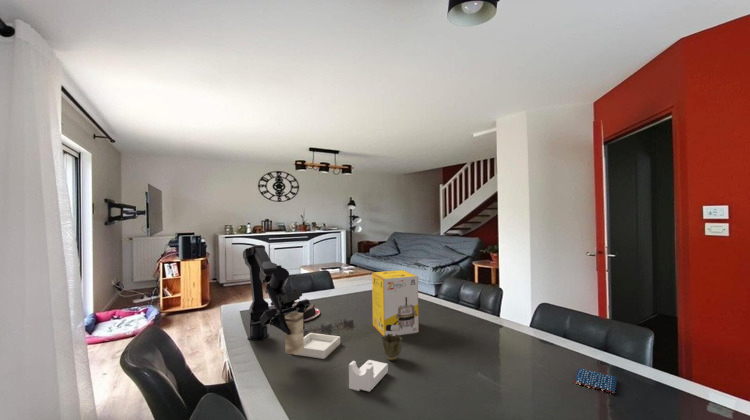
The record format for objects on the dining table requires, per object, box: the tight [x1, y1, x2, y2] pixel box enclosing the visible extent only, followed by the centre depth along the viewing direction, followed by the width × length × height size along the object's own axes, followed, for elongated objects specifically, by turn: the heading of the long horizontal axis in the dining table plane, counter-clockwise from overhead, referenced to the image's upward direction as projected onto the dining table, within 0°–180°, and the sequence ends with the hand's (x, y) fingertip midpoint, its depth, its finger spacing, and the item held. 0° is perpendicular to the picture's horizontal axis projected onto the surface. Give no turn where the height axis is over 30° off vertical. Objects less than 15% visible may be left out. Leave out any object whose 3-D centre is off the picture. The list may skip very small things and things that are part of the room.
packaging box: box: [371, 269, 420, 337], centre depth 146 cm, size 16×16×25 cm
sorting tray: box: [293, 332, 341, 360], centre depth 125 cm, size 14×14×3 cm
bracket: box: [348, 359, 389, 392], centre depth 101 cm, size 13×7×8 cm, turn 153°
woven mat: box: [573, 367, 618, 393], centre depth 98 cm, size 10×11×2 cm
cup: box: [381, 334, 403, 362], centre depth 116 cm, size 8×7×8 cm
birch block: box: [284, 312, 304, 356], centre depth 112 cm, size 5×5×13 cm
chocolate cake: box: [270, 301, 321, 323], centre depth 167 cm, size 28×28×7 cm
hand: (296, 331), depth 112 cm, fingers closed on birch block, 6 cm apart
